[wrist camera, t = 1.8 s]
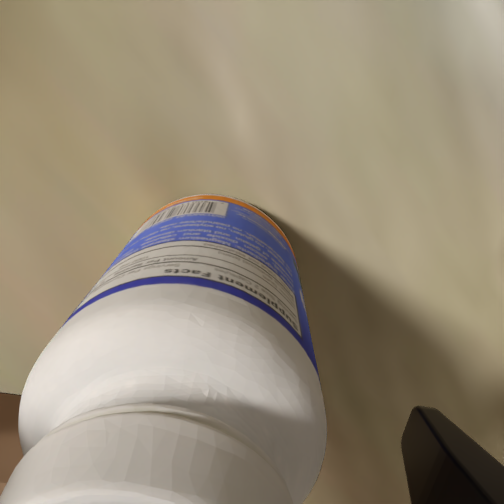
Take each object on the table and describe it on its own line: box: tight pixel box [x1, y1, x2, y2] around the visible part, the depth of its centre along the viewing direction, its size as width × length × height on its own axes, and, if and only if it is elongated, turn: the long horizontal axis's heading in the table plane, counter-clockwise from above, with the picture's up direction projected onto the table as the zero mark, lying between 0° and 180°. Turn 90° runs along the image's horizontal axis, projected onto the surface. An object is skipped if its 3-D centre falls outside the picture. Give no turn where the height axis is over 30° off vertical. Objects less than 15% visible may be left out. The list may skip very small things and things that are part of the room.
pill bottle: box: [0, 194, 327, 504], centre depth 10 cm, size 5×5×10 cm
